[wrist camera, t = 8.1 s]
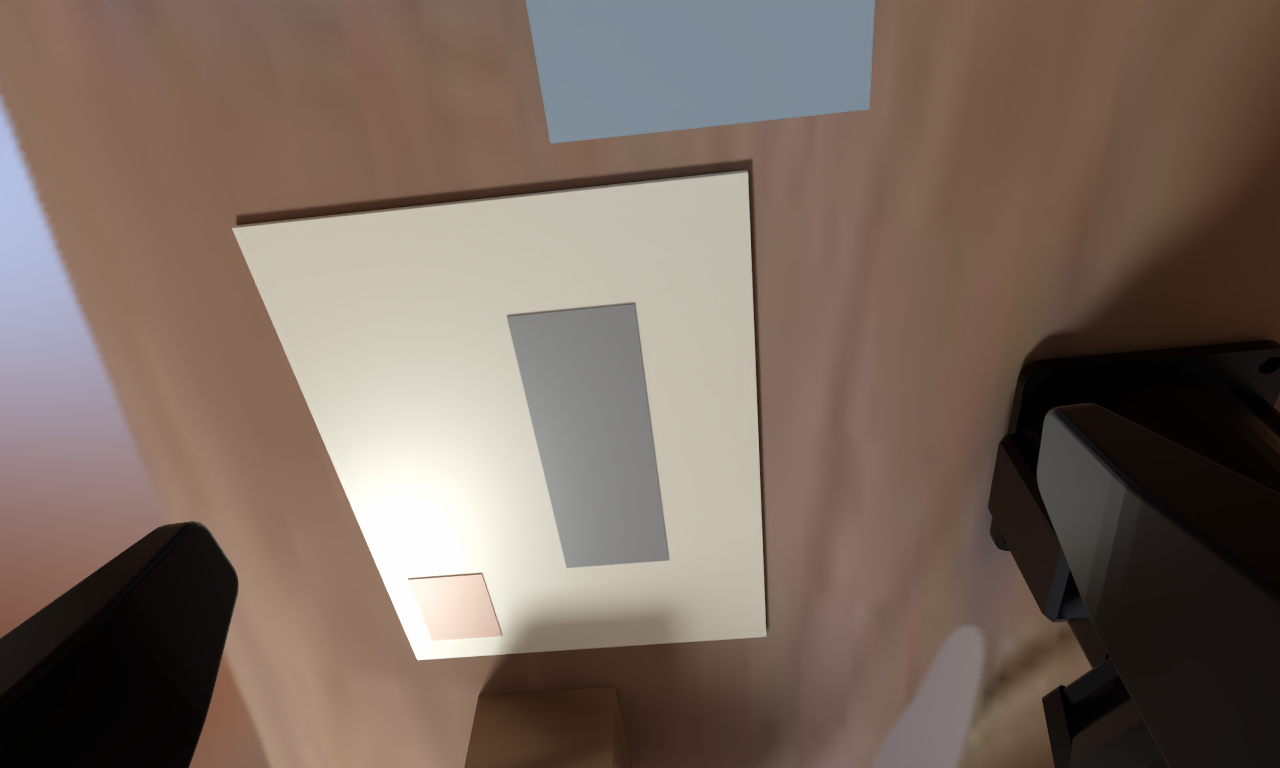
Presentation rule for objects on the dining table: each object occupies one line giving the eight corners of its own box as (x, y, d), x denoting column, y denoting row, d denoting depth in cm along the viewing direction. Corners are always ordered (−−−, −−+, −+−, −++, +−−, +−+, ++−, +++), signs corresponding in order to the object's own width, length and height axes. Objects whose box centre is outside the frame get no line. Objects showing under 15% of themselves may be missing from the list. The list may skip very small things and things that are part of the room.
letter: (747, 169, 18) (748, 172, 18) (765, 632, 27) (766, 637, 27) (234, 225, 19) (231, 228, 18) (418, 656, 28) (416, 660, 27)
